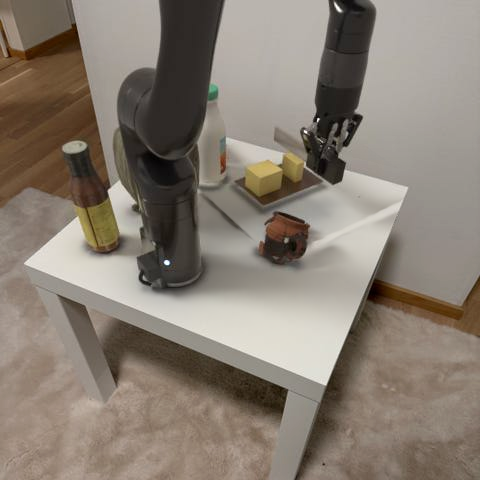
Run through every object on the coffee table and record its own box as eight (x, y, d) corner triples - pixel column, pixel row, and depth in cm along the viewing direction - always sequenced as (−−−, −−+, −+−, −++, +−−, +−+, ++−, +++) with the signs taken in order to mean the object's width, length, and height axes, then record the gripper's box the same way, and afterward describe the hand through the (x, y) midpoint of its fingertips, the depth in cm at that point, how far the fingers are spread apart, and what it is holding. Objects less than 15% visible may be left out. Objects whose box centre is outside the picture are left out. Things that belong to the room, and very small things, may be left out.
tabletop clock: (185, 189, 98) (176, 67, 78) (206, 211, 93) (201, 86, 74) (124, 209, 92) (98, 83, 73) (142, 233, 87) (119, 105, 68)
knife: (332, 185, 84) (336, 166, 81) (270, 141, 94) (271, 123, 91) (342, 181, 85) (346, 162, 81) (279, 138, 95) (280, 120, 92)
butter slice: (294, 182, 98) (297, 164, 94) (280, 172, 100) (282, 154, 97) (301, 180, 99) (304, 161, 95) (287, 170, 101) (289, 151, 98)
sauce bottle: (125, 234, 87) (103, 137, 72) (116, 255, 83) (91, 157, 68) (92, 231, 87) (64, 135, 72) (82, 252, 83) (50, 154, 68)
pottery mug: (246, 246, 87) (260, 205, 83) (283, 253, 92) (298, 215, 89) (278, 271, 78) (295, 226, 75) (317, 277, 83) (335, 236, 80)
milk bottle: (213, 192, 97) (211, 99, 82) (185, 181, 100) (178, 89, 84) (232, 176, 101) (233, 85, 86) (204, 166, 104) (201, 75, 89)
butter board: (262, 211, 93) (263, 205, 92) (233, 186, 99) (233, 180, 98) (322, 187, 100) (324, 181, 99) (292, 165, 105) (292, 159, 104)
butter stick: (258, 197, 94) (260, 178, 91) (245, 185, 97) (245, 167, 93) (280, 188, 96) (282, 169, 93) (266, 177, 99) (268, 159, 95)
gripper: (355, 60, 77) (336, 152, 90) (294, 77, 72) (283, 173, 85) (387, 75, 73) (362, 169, 87) (325, 94, 68) (308, 192, 81)
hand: (323, 171), depth 86 cm, fingers closed on knife, 2 cm apart
